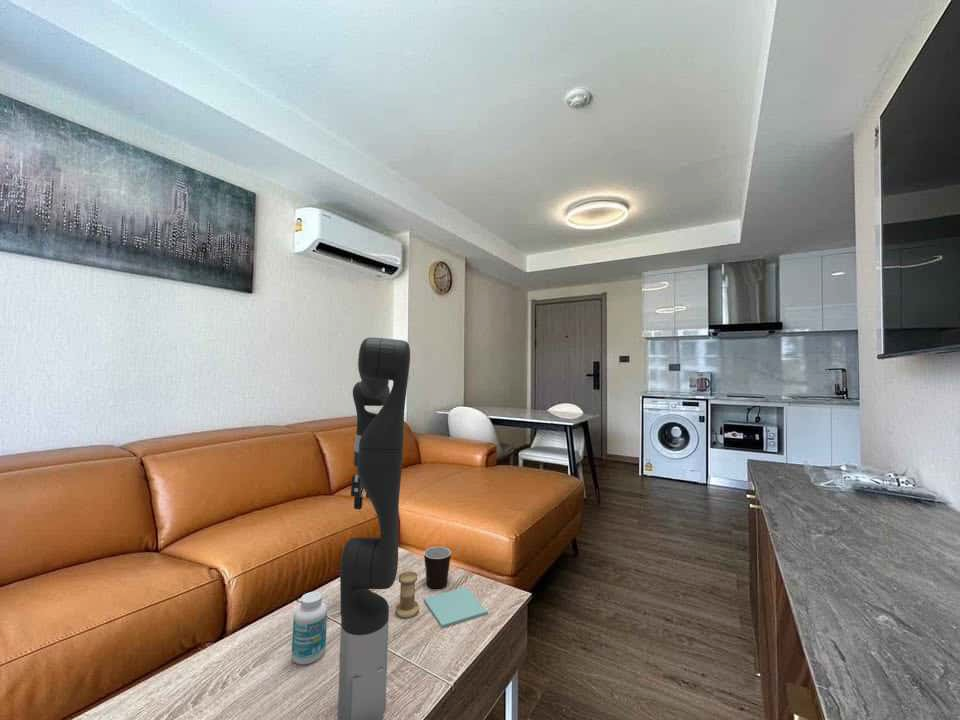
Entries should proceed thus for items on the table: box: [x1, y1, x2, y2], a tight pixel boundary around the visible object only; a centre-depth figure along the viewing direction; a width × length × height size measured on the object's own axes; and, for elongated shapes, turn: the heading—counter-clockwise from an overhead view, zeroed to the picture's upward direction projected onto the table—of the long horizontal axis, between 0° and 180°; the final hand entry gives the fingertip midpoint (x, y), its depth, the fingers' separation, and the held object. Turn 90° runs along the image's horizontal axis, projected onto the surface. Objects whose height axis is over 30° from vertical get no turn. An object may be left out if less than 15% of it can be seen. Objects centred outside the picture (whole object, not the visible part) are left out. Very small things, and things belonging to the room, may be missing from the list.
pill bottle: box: [291, 591, 328, 665], centre depth 93 cm, size 8×7×14 cm
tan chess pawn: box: [394, 570, 420, 620], centre depth 110 cm, size 6×6×10 cm
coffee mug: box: [423, 546, 452, 591], centre depth 127 cm, size 12×9×10 cm
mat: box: [422, 586, 489, 629], centre depth 113 cm, size 14×14×1 cm
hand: (364, 503), depth 116 cm, fingers open, 8 cm apart
